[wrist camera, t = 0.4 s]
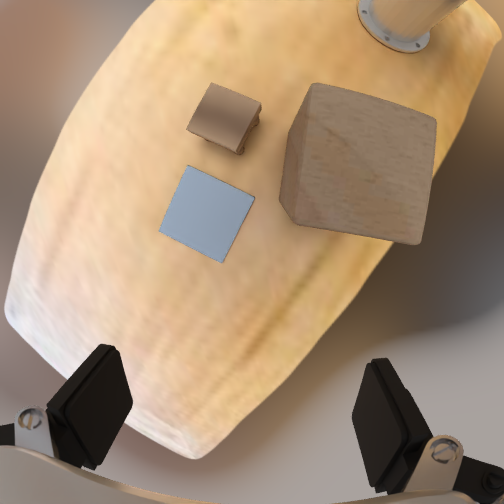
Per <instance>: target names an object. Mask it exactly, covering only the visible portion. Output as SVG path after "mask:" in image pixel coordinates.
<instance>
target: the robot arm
mask: <svg viewBox="0 0 504 504" xmlns="http://www.w3.org/2000/svg"><path fill="white" fill-rule="evenodd" d="M466 1H467V0H360V1H359V3H358V15H359V18H360V20H361V22H362V24H363V25H364V27H365V28H366V29H367V31H368V32H369V33H370V34H371V35H372V36H373V37H375V38H376V39H377V40H378V41H380V42H381V43H383V44H384V45H386V46H388V47H390V48H392V49H394V50H397V51H400V52H405V53H414V52H418V51H420V50H422V49H423V48H424V47H426V45H427V44H428V42H429V39H430V31H429V30H430V29H432V28H433V27H434V26H435V25H437V24H438V23H439V22H440V21H442V20H443V19H444V18H445V17H446V16H448V15H449V14H450V13H451V12H453V11H454V10H455V9H457V8H458V7H459V6H460V5H462V4H463V3H464V2H466ZM132 405H133V399H132V396H131V393H130V389H129V386H128V382H127V379H126V375H125V372H124V368H123V364H122V360H121V356H120V353H119V351H118V350H116V348H115V347H114V346H111V345H106V344H100V345H99V346H98V347H97V348H96V349H95V350H94V351H93V352H92V353H91V354H90V355H89V357H88V358H87V359H86V360H85V361H84V362H83V363H82V364H81V365H80V367H79V368H78V369H77V370H76V371H75V372H74V373H73V375H72V376H71V377H70V378H69V379H68V380H67V381H66V382H65V384H64V385H63V386H62V387H61V388H60V389H59V391H58V392H57V393H56V394H55V395H54V396H53V398H52V399H51V400H50V401H49V402H48V403H47V407H48V408H47V409H46V411H45V410H44V409H43V408H41V407H39V406H28V407H25V408H23V409H21V410H20V411H19V412H18V413H17V415H16V416H15V423H12V424H7V425H2V426H0V504H219V503H211V502H203V501H196V500H190V499H184V498H179V497H174V496H169V495H164V494H160V493H155V492H151V491H147V490H144V489H140V488H136V487H133V486H129V485H126V484H123V483H119V482H116V481H113V480H110V479H107V478H104V477H102V476H99V475H96V474H93V473H91V472H88V471H85V470H83V469H81V467H82V465H83V466H84V467H86V468H89V469H91V470H95V469H96V467H97V465H101V464H102V462H103V460H104V458H105V457H106V455H107V453H108V451H109V449H110V447H111V445H112V443H113V441H114V440H115V438H116V436H117V434H118V432H119V430H120V428H121V427H122V425H123V423H124V421H125V419H126V417H127V416H128V414H129V412H130V410H131V408H132ZM352 422H353V425H354V428H355V432H356V435H357V439H358V443H359V446H360V450H361V454H362V457H363V461H364V465H365V469H366V473H367V476H368V480H369V484H370V486H371V487H375V491H376V493H380V492H385V491H387V494H388V495H387V496H380V497H375V498H369V499H364V500H357V501H350V502H342V503H333V504H504V469H502V468H500V467H498V466H495V465H491V464H488V463H485V462H481V461H478V460H475V459H472V458H469V457H466V456H463V452H464V450H463V446H462V445H461V443H460V442H459V441H458V440H457V439H456V438H454V437H452V436H448V435H438V436H436V437H433V435H432V433H431V431H430V429H429V427H428V425H427V423H426V421H425V419H424V418H423V416H422V414H421V412H420V410H419V408H418V407H417V405H416V403H415V401H414V399H413V397H412V396H411V394H410V392H409V391H408V390H407V389H405V387H404V385H403V384H402V382H401V380H400V378H399V376H398V375H397V373H396V371H395V370H394V368H393V366H392V364H391V363H390V361H389V360H388V358H378V359H372V361H371V363H368V364H367V365H366V368H365V372H364V376H363V379H362V383H361V386H360V390H359V393H358V396H357V400H356V403H355V406H354V409H353V412H352Z"/></svg>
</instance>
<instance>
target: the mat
mask: <svg viewBox="0 0 504 504" xmlns="http://www.w3.org/2000/svg"><path fill="white" fill-rule="evenodd" d="M254 199H255V197H253V196H251V195H249V194H247V193H245V192H243V191H241V190H239V189H237V188H235V187H233V186H231V185H229V184H227V183H225V182H223V181H221V180H219V179H217V178H214V177H212V176H210V175H208V174H206V173H204V172H202V171H200V170H198V169H195V168H193V167H191V166H189V165H188V166H187V168H186V170H185V172H184V174H183V176H182V178H181V181H180V183H179V185H178V187H177V189H176V192H175V194H174V196H173V198H172V201H171V203H170V205H169V208H168V210H167V212H166V215H165V217H164V219H163V222H162V224H161V227H160V229H159V232H161V233H163V234H165V235H167V236H169V237H171V238H173V239H175V240H177V241H179V242H181V243H182V244H184V245H186V246H188V247H190V248H192V249H194V250H196V251H198V252H200V253H202V254H204V255H206V256H208V257H210V258H212V259H214V260H216V261H218V262H220V263H222V262H223V260H224V258H225V256H226V254H227V252H228V250H229V248H230V246H231V244H232V242H233V240H234V238H235V236H236V234H237V232H238V230H239V228H240V226H241V224H242V222H243V220H244V218H245V216H246V214H247V212H248V210H249V208H250V206H251V205H252V203H253V201H254Z"/></svg>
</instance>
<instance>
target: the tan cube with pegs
mask: <svg viewBox="0 0 504 504" xmlns="http://www.w3.org/2000/svg"><path fill="white" fill-rule="evenodd" d="M261 110H262V109H261V103H260V102H258V101H256V100H253V99H251V98H249V97H246V96H244V95H242V94H239V93H237V92H234V91H232V90H230V89H227V88H225V87H222V86H219V85H217V84H214V83H212V82H211V84H210V86H209V87H208V89H207V91H206V93H205V95H204V96H203V98H202V100H201V102H200V104H199V105H198V107H197V109H196V111H195V113H194V115H193V117H192V119H191V120H190V122H189V124H188V126H187V128H186V130H188V131H190V132H191V133H193V134H195V135H198V136H200V137H202V138H204V139H205V140H207V141H211V142H213V143H216V144H218V145H220V146H222V147H224V148H227V149H229V150H231V151H233V152H234V153H236V154H238V155H240V154H242V153H243V152H244V147H243V143H244V141H245V139H246V138H247V136H248V134H249V132H250V130H251V128H252V126H256V125H258V124H259V113H260V112H261Z"/></svg>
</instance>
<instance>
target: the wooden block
mask: <svg viewBox="0 0 504 504" xmlns="http://www.w3.org/2000/svg"><path fill="white" fill-rule="evenodd" d="M436 128H437V122H436V119H435V118H433V117H431V116H429V115H426V114H424V113H421V112H418V111H416V110H413V109H410V108H407V107H405V106H402V105H399V104H396V103H393V102H390V101H387V100H383V99H380V98H377V97H373V96H370V95H366V94H363V93H359V92H355V91H351V90H347V89H343V88H339V87H335V86H330V85H326V84H321V83H313V84H312V85H311V86H310V88H309V90H308V92H307V94H306V96H305V98H304V101H303V103H302V105H301V107H300V109H299V111H298V113H297V115H296V118H295V120H294V122H293V124H292V126H291V128H290V130H289V133H288V140H287V147H286V155H285V162H284V169H283V176H282V182H281V189H280V196H279V201H280V203H281V205H282V206H283V208H284V209H285V211H286V212H287V214H288V215H289V217H290V218H291V220H292V221H293V222H294V223H295V224H297V225H301V226H307V227H313V228H319V229H325V230H331V231H337V232H343V233H349V234H355V235H361V236H366V237H372V238H377V239H383V240H388V241H394V242H399V243H404V244H409V245H417V244H419V243H420V242H421V238H422V233H423V229H424V224H425V219H426V213H427V208H428V202H429V195H430V188H431V182H432V174H433V165H434V155H435V143H436Z"/></svg>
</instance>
